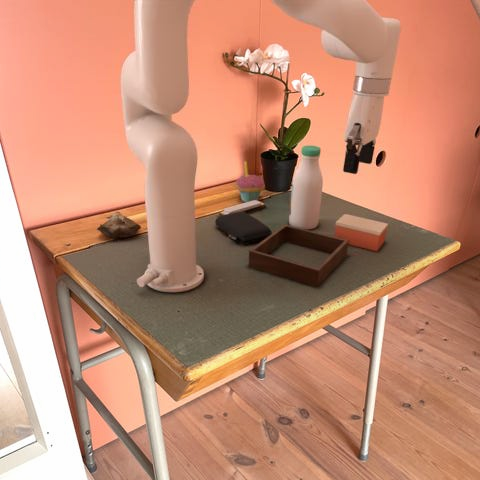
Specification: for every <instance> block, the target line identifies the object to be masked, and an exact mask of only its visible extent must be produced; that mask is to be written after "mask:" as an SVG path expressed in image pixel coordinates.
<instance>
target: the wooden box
mask: <svg viewBox="0 0 480 480" xmlns="http://www.w3.org/2000/svg"><path fill="white" fill-rule="evenodd" d="M334 236H335V235H334ZM334 236H333V235H330V234H325V233H321V232H317V231H313V230H311V229H302V228H298V227H294V226H291V225H290V224H283V225H282V226H280V227H279V228H278V229H276V230H275V231H274V232H272V234H271V235H270V236H268V237H267V238H266V239H264V240H261V241H260V242H259V243H258V244H256V245H255V246H254V247H252V248H251V249H250V250H249V251H248V252H249V253H248V267H249V268H251V269H253V270H254V269H255V270H258V271H262V272H265V273H268V274H271V275H275V276H279V277H281V278H285V279H288V280H290V281H291V280H292V281H294V282H298V283H302V284H305V285H308V286H312V287H314V288H318V287H319V286H320V285H321V284H322V283H323V282H324V281H325V279H326V278H327V277H328V276H329V275H330V274H331V273H332V272H333V271H334V270H335V269H336V268H337V266H338V265H339V264H340V263H341V262H342V261H343V260H344V259H345V258H346V257H347V255H348V249H349V245H350V244H349V240H346V239H342V238H338V237H334ZM285 242H287V243H291V244H295V245H299V246H302V247H307V248H309V249H314V250H318V251H321V252H326V253H329V254H330V255H329V256H327V257H326V258H325V260H324V261H323V262H321V263H320V265H319V266H318V267H314V266H311V265H307V264H304V263H300V262H297V261H293V260H289V259H286V258H283V257H279V256H276V255H271V254H270V253H272V252H273V251H274V250H275V249H277V248H279V246H281V245H282V244H283V243H285Z"/></svg>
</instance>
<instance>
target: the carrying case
mask: <svg viewBox="0 0 480 480" xmlns="http://www.w3.org/2000/svg"><path fill="white" fill-rule="evenodd" d="M214 222H215V225H216V227H218V228H219V229H221V230H222V231H223V232H225V233H226V234H228V238H229V239H232V240H234V241H237V242H238V243H241V244H243V245H244V244H245V245H247V244H251V243H255V242H259V241H260V242H261V241H263V240H264V239H266V238H267V237H268V236H270V235H271V234H272V233H273V232H272V229H270V227H269V226H267V225H266V224H264V222H262V221H261V220H258V219H257V218H255V217H253V216H252V215H250V213H248V214H247V213H246V212H242V211H241V212H235V213H231V214H226V215H221V216H219V215H218V216H217V218H216V219H214Z"/></svg>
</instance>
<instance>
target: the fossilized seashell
mask: <svg viewBox="0 0 480 480" xmlns="http://www.w3.org/2000/svg"><path fill="white" fill-rule="evenodd" d="M141 229H142V226H141V225H140V224H139V223H137V222H136V221H134V220H133V219H131V218H129V217H127V216H125V215H123V214H122V213H121V212H120V211H116V212H115V213H114V214H111V215H110V216H109V218H108V220H107V221H105V222H104V223H102V224H99V226H98V227H97V228H96V230H97V231H99V232H100V233H101V234H102V235H104V236H105V237H107V238H110V239H111V238H112V239H114V238H115V239H116V238H129V237H132V236H133V235H136V233H138V231H139V230H141Z"/></svg>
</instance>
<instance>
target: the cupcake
mask: <svg viewBox="0 0 480 480" xmlns="http://www.w3.org/2000/svg"><path fill="white" fill-rule="evenodd" d="M243 163H244V173H245V174H244V175H241V176H239V178H237V179H236V180H235V189H236V190H238V192H239V196H240V199H241V201H243V203H246V202H249V201H253V200H257V201H259V197H260V195H261V193H262V191H264V190H266V185H265V181H264V179H263V178H262V177H260V176H259V175H257V174H249V172H248V163H247V161H246V158H244V161H243Z"/></svg>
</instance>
